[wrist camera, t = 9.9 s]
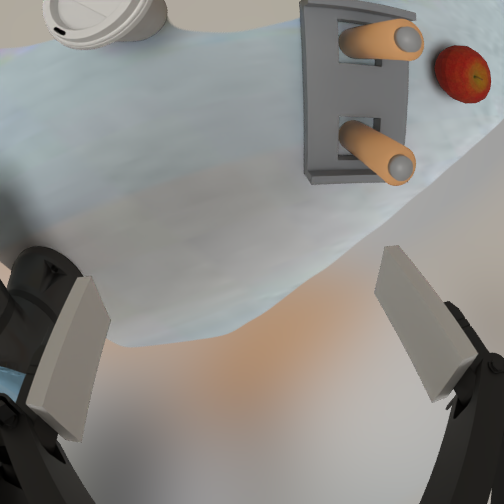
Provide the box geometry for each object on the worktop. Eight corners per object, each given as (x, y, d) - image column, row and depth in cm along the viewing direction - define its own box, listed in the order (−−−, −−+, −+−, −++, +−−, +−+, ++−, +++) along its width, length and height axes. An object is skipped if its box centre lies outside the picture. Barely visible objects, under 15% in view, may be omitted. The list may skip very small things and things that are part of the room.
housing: (303, 173, 38) (334, 220, 28) (299, 1, 26) (334, -27, 15) (393, 171, 39) (445, 214, 28) (399, 15, 26) (463, 8, 16)
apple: (471, 70, 30) (508, 79, 23) (449, 108, 33) (484, 121, 27) (439, 33, 27) (476, 34, 21) (414, 72, 31) (450, 78, 24)
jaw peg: (338, 119, 34) (386, 147, 24) (368, 120, 35) (422, 149, 24) (337, 150, 37) (381, 189, 26) (366, 150, 37) (416, 189, 26)
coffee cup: (89, 13, 24) (18, -2, 11) (157, -32, 22) (117, -81, 9) (125, 68, 29) (64, 75, 16) (196, 23, 27) (174, -5, 14)
